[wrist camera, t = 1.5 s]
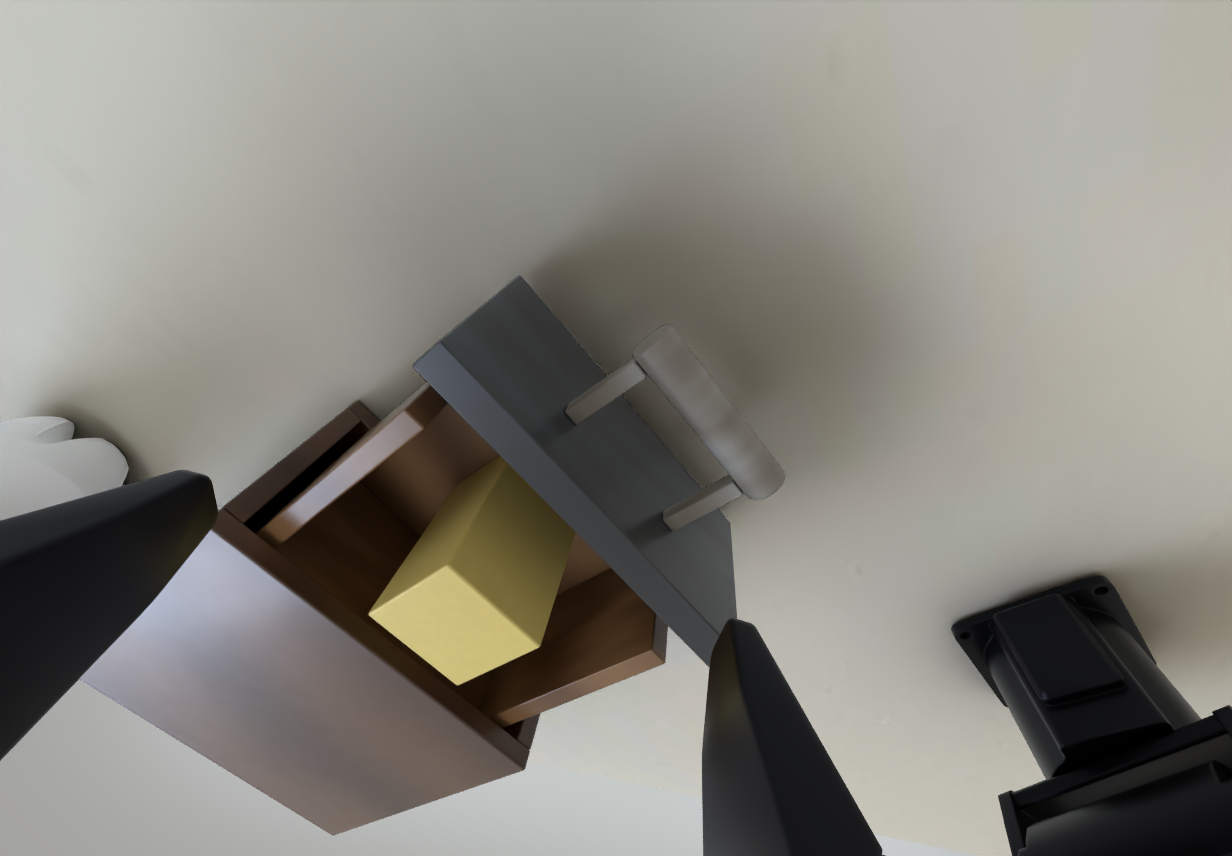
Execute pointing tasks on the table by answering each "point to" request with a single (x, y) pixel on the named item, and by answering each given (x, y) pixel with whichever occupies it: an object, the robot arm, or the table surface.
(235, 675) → the cabinet
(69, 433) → the water bottle
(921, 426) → the table surface
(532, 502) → the block
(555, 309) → the table surface
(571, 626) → the drawer
